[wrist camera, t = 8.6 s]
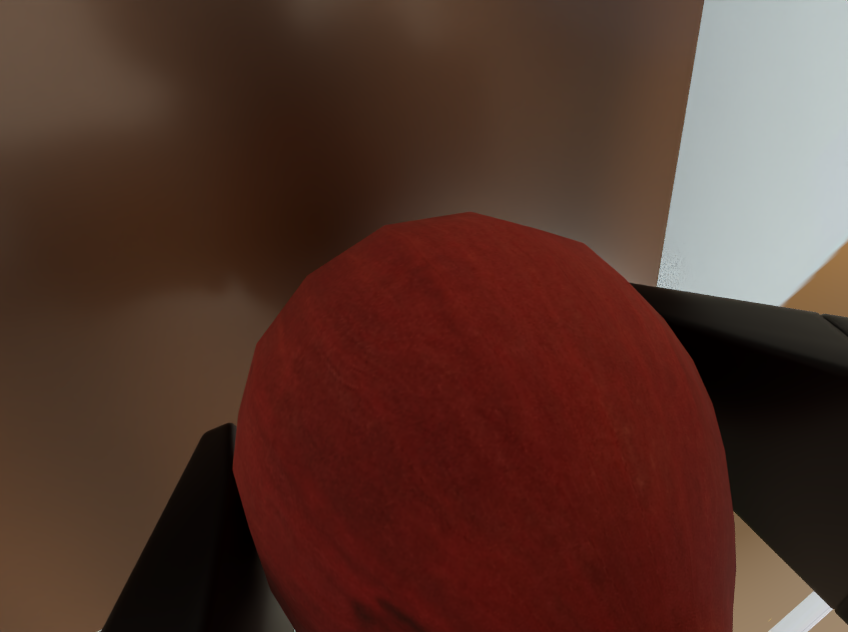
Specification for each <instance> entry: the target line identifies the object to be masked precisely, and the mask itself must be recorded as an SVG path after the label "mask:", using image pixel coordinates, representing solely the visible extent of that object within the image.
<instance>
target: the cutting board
mask: <svg viewBox="0 0 848 632" xmlns="http://www.w3.org/2000/svg"><path fill="white" fill-rule="evenodd" d="M703 5H704V0H0V632H97V631H99V630H101V629H102V628H103V626H104V625H105V623H106V621H107V619H108V617H109V615H110V613H111V611H112V609H113V607H114V605H115V603H116V601H117V599H118V597H119V596H120V594H121V592H122V590H123V588H124V586H125V584H126V582H127V580H128V578H129V576H130V574H131V572H132V570H133V568H134V566H135V565H136V563H137V561H138V559H139V557H140V555H141V553H142V551H143V549H144V547H145V545H146V543H147V541H148V539H149V537H150V536H151V534H152V532H153V530H154V528H155V526H156V524H157V522H158V520H159V518H160V516H161V514H162V512H163V510H164V508H165V507H166V505H167V503H168V501H169V499H170V497H171V495H172V493H173V491H174V489H175V487H176V485H177V483H178V481H179V479H180V477H181V476H182V474H183V472H184V470H185V468H186V466H187V464H188V462H189V460H190V458H191V456H192V454H193V452H194V450H195V448H196V447H197V445H198V443H199V441H200V439H201V437H202V435H203V434H204V433H205V432H207V431H209V430H211V429H214V428H216V427H219V426H221V425H223V424H226V423H233V424H235V425H236V427H237V421H238V413H239V409H240V405H241V401H242V397H243V393H244V390H245V386H246V382H247V378H248V374H249V370H250V366H251V362H252V359H253V355H254V351H255V347H256V344H257V342H258V341H259V340H260V338H261V337H262V336H263V334H264V333H265V332H266V330H267V329H268V328H269V326H270V325H271V324H272V322H273V321H274V320H275V318H276V317H277V315H278V314H279V313H280V311H281V310H282V309H283V307H284V306H285V305H286V303H287V302H288V301H289V299H290V298H291V297H292V295H293V294H294V293H295V291H296V290H297V289H298V287H299V286H300V285H301V283H302V282H303V280H304V279H305V278H306V276H307V275H309V274H310V273H312V272H313V271H315V270H316V269H318V268H320V267H321V266H323V265H324V264H326V263H327V262H329V261H330V260H332V259H333V258H335V257H336V256H338V255H340V254H341V253H343V252H344V251H346V250H347V249H349V248H350V247H352V246H353V245H355V244H356V243H358V242H360V241H361V240H363V239H364V238H366V237H367V236H369V235H370V234H372V233H373V232H375V231H376V230H378V229H380V228H381V227H383V226H384V225H389V224H395V223H401V222H408V221H414V220H420V219H426V218H432V217H439V216H445V215H451V214H457V213H464V212H474V213H478V214H482V215H486V216H490V217H494V218H498V219H502V220H506V221H509V222H513V223H517V224H521V225H525V226H528V227H532V228H536V229H540V230H543V231H546V232H549V233H553V234H556V235H559V236H563V237H566V238H569V239H572V240H576V241H579V242H582V243H584V244H586V245H587V246H588V247H589V248H590V249H591V250H593V251H594V252H595V253H596V254H597V255H598V256H600V257H601V258H602V259H603V260H604V261H605V262H607V263H608V264H609V265H610V266H611V267H612V268H614V269H615V270H616V271H617V272H618V273H619V274H621V275H622V276H623V277H624V278H625V279H626V280H627V281H628V282H629V283H635V284H641V285H647V286H654V287H656V286H657V280H658V274H659V268H660V262H661V256H662V250H663V244H664V238H665V232H666V226H667V220H668V214H669V208H670V202H671V196H672V190H673V184H674V178H675V172H676V166H677V160H678V154H679V148H680V142H681V136H682V131H683V125H684V119H685V113H686V107H687V101H688V95H689V89H690V83H691V77H692V71H693V65H694V59H695V53H696V47H697V41H698V35H699V29H700V23H701V17H702V11H703Z"/></svg>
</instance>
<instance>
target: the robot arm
mask: <svg viewBox="0 0 848 632" xmlns="http://www.w3.org/2000/svg"><path fill="white" fill-rule="evenodd" d="M630 284H631V285H632V286H633V287H634V288H635V289H636V290H637V291H638V292H639V293H640V294H641V296H642V297H643V298H644V299H645V300H646V301H647V302H648V303H649V304H650V305H651V306H652V307H653V308H654V309H655V310H656V311H657V312H658V313H659V314H660V315H661V316H662V317H663V318H664V319H665V321H666V322H667V324H668V325H669V327H670V328H671V329H672V331H673V332H674V334H675V335H676V337H677V338H678V339H679V341H680V342H681V344H682V345H683V347H684V348H685V349H686V351H687V352H688V354H689V355H690V357H691V358H692V359H693V361H694V364H695V366H696V368H697V370H698V373H699V375H700V377H701V379H702V381H703V384H704V386H705V388H706V390H707V393H708V395H709V397H710V399H711V401H712V404H713V407H714V411H715V415H716V419H717V422H718V426H719V430H720V434H721V438H722V441H723V445H724V449H725V455H726V462H727V469H728V476H729V484H730V491H731V498H732V506H733V511H734V512H735V513H736V514H737V515H738V516H739V517H740V518H741V519H742V520H743V521H744V522H745V523H746V524H747V525H748V526H749V527H750V528H751V529H752V530H753V531H754V532H755V533H756V534H757V535H758V536H759V537H760V538H761V539H762V540H763V541H764V542H765V543H766V544H767V545H768V546H769V547H770V548H771V549H772V550H773V551H774V552H775V553H777V554H778V556H779V557H780V558H782V559H783V560H784V562H786V563H787V564H788V565H789V566H790V567H791V568H792V569H793V570H794V571H795V572H796V573H797V574H798V575H799V576H800V577H801V578H802V579H803V580H804V581H805V582H806V583H807V584H808V585H809V586H810V587H811V588H812V589H813V590H814V591H815V592H816V593H817V594H818V595H819V596H820V597H821V598H822V599H823V600H824V601H825V602H826V603H827V604H828V605H829V606H830V607H831V608H832V609H835V612H836V614H837V615H838V616H839V617H840V618H842V619H843V620H844V621H845V623H847V625H848V318H847V317H841V316H835V315H829V314H822V315H819V314H818V313H816V312H810V311H803V310H796V309H791V308H785V307H779V306H772V305H766V304H760V303H753V302H747V301H741V300H735V299H729V298H722V297H716V296H710V295H704V294H697V293H691V292H685V291H679V290H672V289H666V288H660V287H654V286H647V285H641V284H635V283H630ZM236 430H237V427H236V425H235V424H233V423H226V424H223V425H221V426H219V427H216V428H214V429H211V430H209V431H207V432H205V433H204V434H203V435H202V437H201V439H200V441H199V443H198V445H197V447H196V448H195V450H194V452H193V454H192V456H191V458H190V460H189V462H188V464H187V466H186V468H185V470H184V472H183V474H182V476H181V477H180V479H179V481H178V483H177V485H176V487H175V489H174V491H173V493H172V495H171V497H170V499H169V501H168V503H167V505H166V507H165V508H164V510H163V512H162V514H161V516H160V518H159V520H158V522H157V524H156V526H155V528H154V530H153V532H152V534H151V536H150V537H149V539H148V541H147V543H146V545H145V547H144V549H143V551H142V553H141V555H140V557H139V559H138V561H137V563H136V565H135V566H134V568H133V570H132V572H131V574H130V576H129V578H128V580H127V582H126V584H125V586H124V588H123V590H122V592H121V594H120V596H119V597H118V599H117V601H116V603H115V605H114V607H113V609H112V611H111V613H110V615H109V617H108V619H107V621H106V623H105V625H104V626H103V628H102V630H101V632H294V628H293V626H292V624H291V623H290V621H289V620H288V618H287V616H286V615H285V613H284V611H283V610H282V608H281V606H280V605H279V603H278V602H277V600H276V598H275V597H274V595H273V593H272V592H271V590H270V587H269V584H268V582H267V579H266V576H265V573H264V570H263V567H262V564H261V561H260V558H259V555H258V553H257V550H256V547H255V544H254V541H253V538H252V535H251V532H250V529H249V526H248V522H247V519H246V515H245V512H244V508H243V505H242V501H241V498H240V494H239V491H238V487H237V484H236V480H235V477H234V473H233V470H232V468H233V459H234V449H235V440H236Z"/></svg>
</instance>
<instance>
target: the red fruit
mask: <svg viewBox="0 0 848 632" xmlns="http://www.w3.org/2000/svg"><path fill="white" fill-rule="evenodd" d="M232 470H233V473H234V477H235V480H236V484H237V487H238V491H239V494H240V498H241V501H242V505H243V508H244V512H245V515H246V519H247V522H248V526H249V529H250V532H251V535H252V538H253V541H254V544H255V547H256V550H257V553H258V555H259V558H260V561H261V564H262V567H263V570H264V573H265V576H266V579H267V582H268V584H269V587H270V590H271V592H272V593H273V595H274V597H275V598H276V600H277V602H278V603H279V605H280V606H281V608H282V610H283V611H284V613H285V615H286V616H287V618H288V620H289V621H290V623H291V624H292V626H293V628H294V629H295V631H296V632H732V628H733V624H732V623H733V603H734V589H735V576H736V554H735V553H736V552H735V524H734V515H733V506H732V498H731V491H730V484H729V476H728V469H727V462H726V455H725V449H724V445H723V441H722V438H721V434H720V430H719V426H718V422H717V419H716V415H715V411H714V407H713V404H712V401H711V399H710V397H709V395H708V393H707V390H706V388H705V386H704V384H703V381H702V379H701V377H700V375H699V373H698V370H697V368H696V366H695V364H694V361H693V359H692V358H691V357H690V355H689V354H688V352H687V351H686V349H685V348H684V347H683V345H682V344H681V342H680V341H679V339H678V338H677V337H676V335H675V334H674V332H673V331H672V329H671V328H670V327H669V325H668V324H667V322H666V321H665V319H664V318H663V317H662V316H661V315H660V314H659V313H658V312H657V311H656V310H655V309H654V308H653V307H652V306H651V305H650V304H649V303H648V302H647V301H646V300H645V299H644V298H643V297H642V296H641V294H640V293H639V292H638V291H637V290H636V289H635V288H634V287H633V286H632V285H631V284H630V283H629V282H628V281H627V280H626V279H625V278H624V277H623V276H622V275H621V274H619V273H618V272H617V271H616V270H615V269H614V268H612V267H611V266H610V265H609V264H608V263H607V262H605V261H604V260H603V259H602V258H601V257H600V256H598V255H597V254H596V253H595V252H594V251H593V250H591V249H590V248H589V247H588V246H587V245H586V244H584V243H582V242H579V241H576V240H572V239H569V238H566V237H563V236H559V235H556V234H553V233H549V232H546V231H543V230H540V229H536V228H532V227H528V226H525V225H521V224H517V223H513V222H509V221H506V220H502V219H498V218H494V217H490V216H486V215H482V214H478V213H474V212H464V213H457V214H451V215H445V216H439V217H432V218H426V219H420V220H414V221H408V222H401V223H395V224H389V225H384V226H383V227H381V228H380V229H378V230H376V231H375V232H373V233H372V234H370V235H369V236H367V237H366V238H364V239H363V240H361V241H360V242H358V243H356V244H355V245H353V246H352V247H350V248H349V249H347V250H346V251H344V252H343V253H341V254H340V255H338V256H336V257H335V258H333V259H332V260H330V261H329V262H327V263H326V264H324V265H323V266H321V267H320V268H318V269H316V270H315V271H313V272H312V273H310V274H309V275H307V276H306V278H305V279H304V280H303V282H302V283H301V285H300V286H299V287H298V289H297V290H296V291H295V293H294V294H293V295H292V297H291V298H290V299H289V301H288V302H287V303H286V305H285V306H284V307H283V309H282V310H281V311H280V313H279V314H278V315H277V317H276V318H275V320H274V321H273V322H272V324H271V325H270V326H269V328H268V329H267V330H266V332H265V333H264V334H263V336H262V337H261V338H260V340H259V341H258V342H257V344H256V347H255V351H254V355H253V359H252V362H251V366H250V370H249V374H248V378H247V382H246V386H245V390H244V393H243V397H242V401H241V405H240V409H239V413H238V421H237V430H236V440H235V449H234V459H233V468H232Z"/></svg>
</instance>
